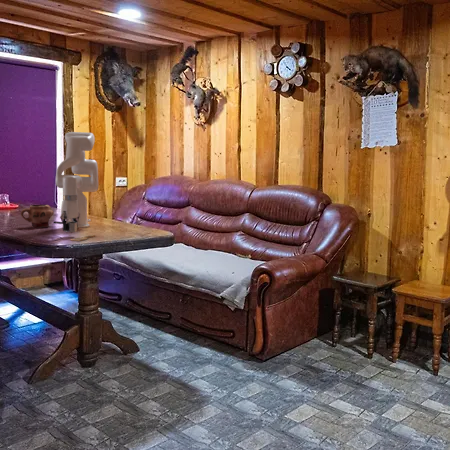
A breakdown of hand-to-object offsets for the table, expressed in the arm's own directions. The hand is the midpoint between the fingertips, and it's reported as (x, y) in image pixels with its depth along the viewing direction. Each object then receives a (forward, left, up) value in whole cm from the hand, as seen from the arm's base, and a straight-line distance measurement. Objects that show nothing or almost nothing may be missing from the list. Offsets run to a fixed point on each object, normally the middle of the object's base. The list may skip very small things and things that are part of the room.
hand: (70, 229), depth 292 cm
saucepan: (0, -4, -1) cm, 4 cm away
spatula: (+1, +10, -4) cm, 11 cm away
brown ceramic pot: (-21, -40, -4) cm, 45 cm away
